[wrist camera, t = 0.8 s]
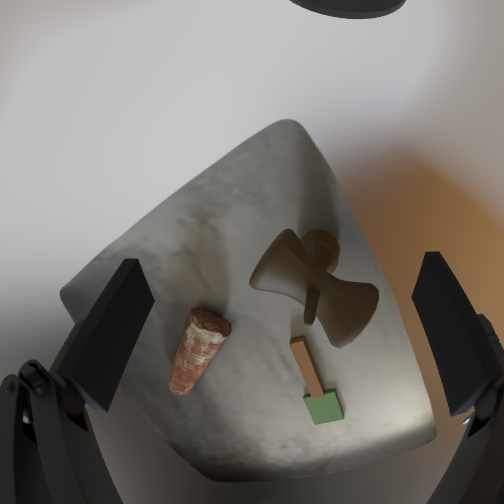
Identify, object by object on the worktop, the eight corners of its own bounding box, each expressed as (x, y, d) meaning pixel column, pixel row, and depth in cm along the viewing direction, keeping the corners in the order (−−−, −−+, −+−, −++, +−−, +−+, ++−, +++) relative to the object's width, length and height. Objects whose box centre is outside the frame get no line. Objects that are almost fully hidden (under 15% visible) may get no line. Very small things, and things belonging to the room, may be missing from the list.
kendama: (335, 288, 36) (337, 390, 17) (274, 246, 36) (218, 314, 18) (362, 252, 34) (399, 329, 15) (300, 208, 34) (269, 237, 16)
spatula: (280, 341, 40) (278, 346, 38) (314, 332, 38) (313, 337, 37) (315, 421, 42) (314, 427, 40) (344, 416, 40) (344, 421, 39)
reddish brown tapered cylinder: (239, 319, 40) (226, 338, 35) (193, 391, 47) (180, 410, 41) (202, 296, 41) (185, 312, 36) (164, 372, 47) (149, 389, 42)
